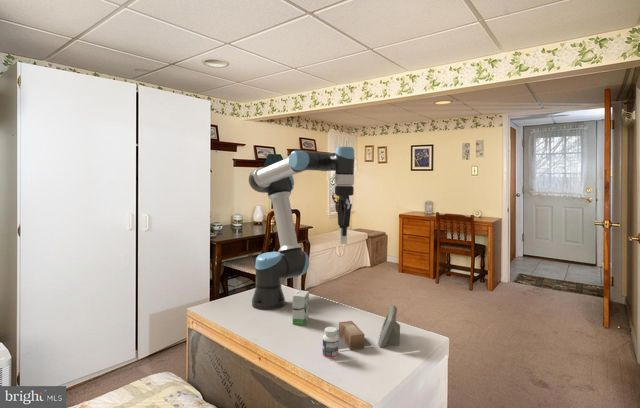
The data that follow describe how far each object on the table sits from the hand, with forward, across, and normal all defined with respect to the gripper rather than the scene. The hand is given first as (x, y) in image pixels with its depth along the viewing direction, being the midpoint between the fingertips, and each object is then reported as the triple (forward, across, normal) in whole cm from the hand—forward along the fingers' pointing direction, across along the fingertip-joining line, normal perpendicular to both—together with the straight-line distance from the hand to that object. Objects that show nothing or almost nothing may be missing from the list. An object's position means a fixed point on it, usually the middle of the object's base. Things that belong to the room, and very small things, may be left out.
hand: (343, 243), depth 147 cm
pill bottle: (+32, +29, -13) cm, 45 cm away
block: (+29, +16, -4) cm, 33 cm away
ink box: (+32, -1, -17) cm, 36 cm away
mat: (+31, +20, -3) cm, 37 cm away
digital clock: (+32, +23, +10) cm, 40 cm away
